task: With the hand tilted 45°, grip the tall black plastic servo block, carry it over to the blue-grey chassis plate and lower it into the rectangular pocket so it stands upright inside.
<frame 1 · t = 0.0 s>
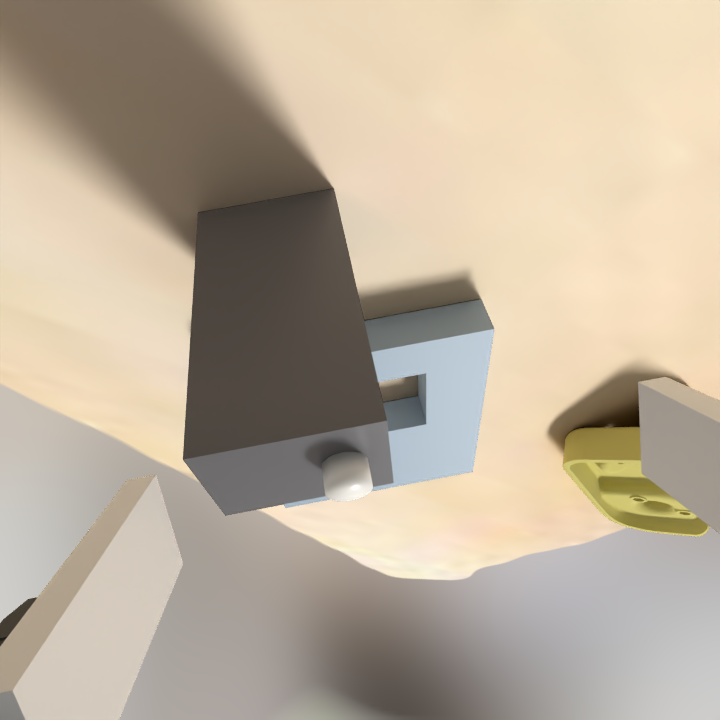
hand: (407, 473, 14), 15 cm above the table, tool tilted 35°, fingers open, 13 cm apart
chassis plate: (364, 406, 39), on the table
plastic component: (627, 444, 52), on the table
servo block: (276, 238, 26), on the table
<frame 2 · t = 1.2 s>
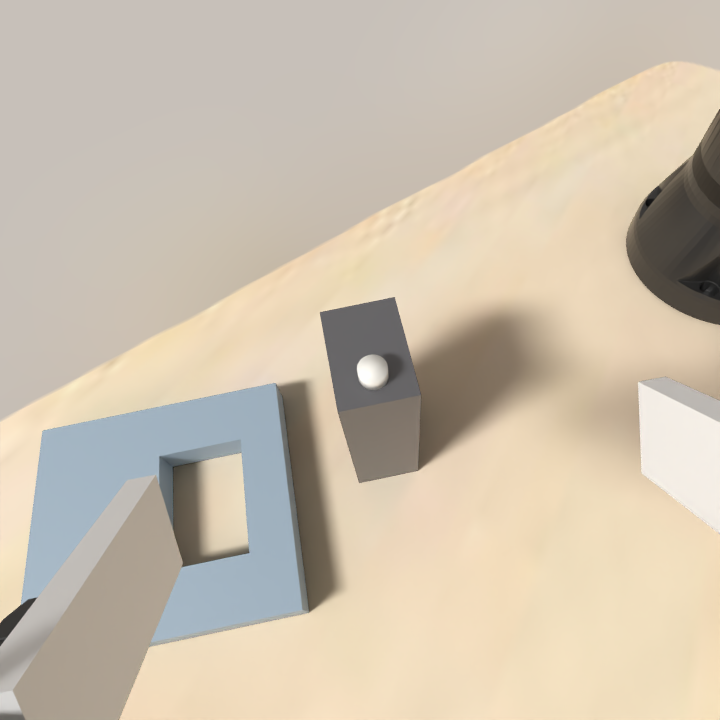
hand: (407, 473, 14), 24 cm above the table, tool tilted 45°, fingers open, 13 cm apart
chassis plate: (173, 519, 38), on the table
servo block: (379, 436, 40), on the table
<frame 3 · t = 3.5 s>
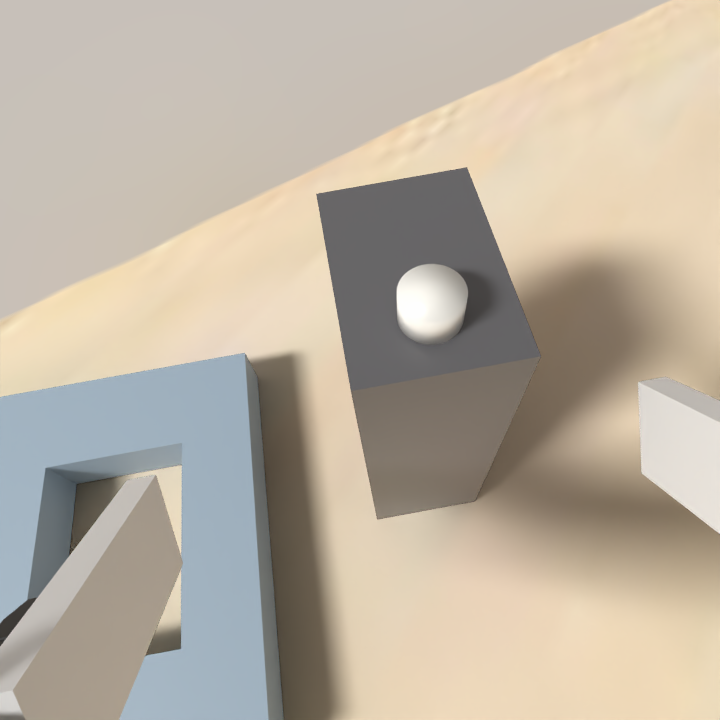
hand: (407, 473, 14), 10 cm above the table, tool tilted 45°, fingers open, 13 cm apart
chassis plate: (67, 572, 23), on the table
servo block: (410, 443, 25), on the table
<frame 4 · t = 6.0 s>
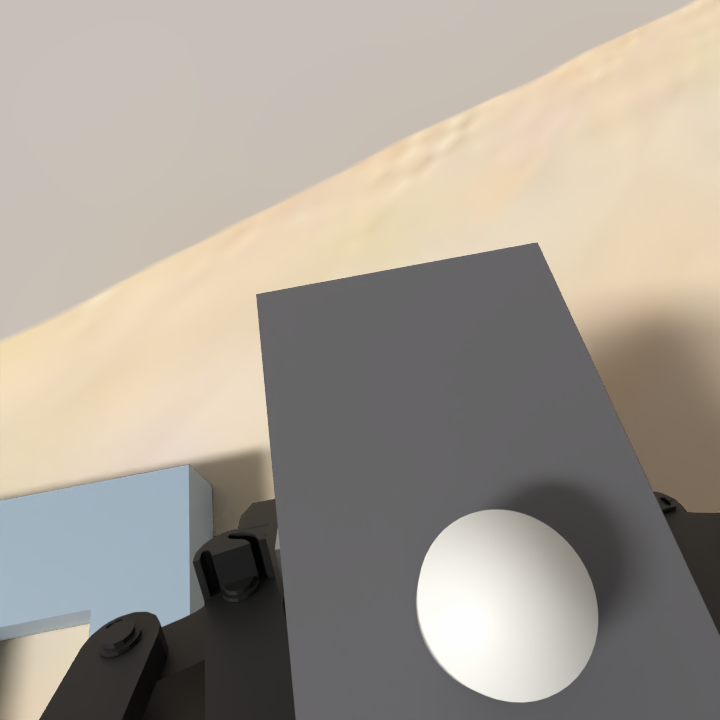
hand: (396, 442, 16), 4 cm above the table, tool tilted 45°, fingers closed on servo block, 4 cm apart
servo block: (421, 589, 18), on the table, touching gripper
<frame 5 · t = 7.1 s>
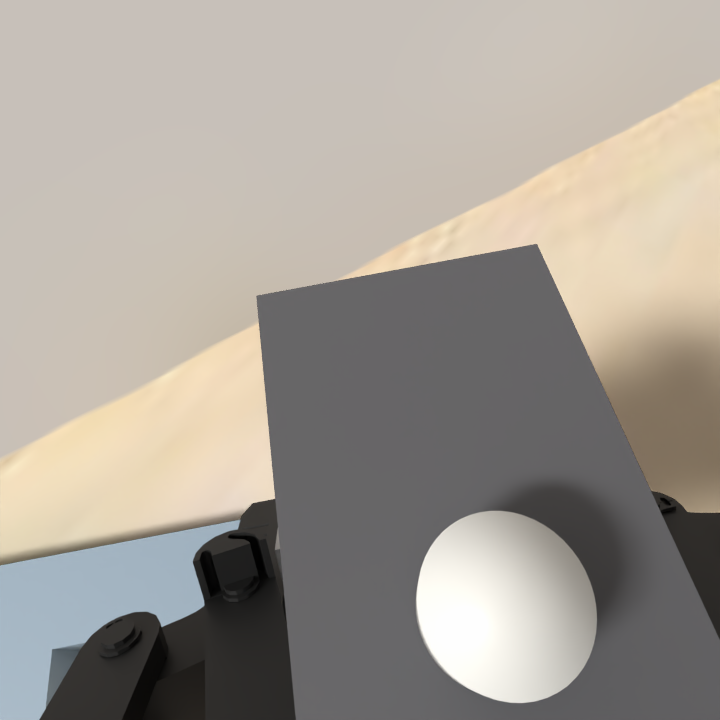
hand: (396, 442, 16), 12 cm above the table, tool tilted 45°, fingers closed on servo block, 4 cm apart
servo block: (421, 589, 18), point 8 cm above the table, touching gripper
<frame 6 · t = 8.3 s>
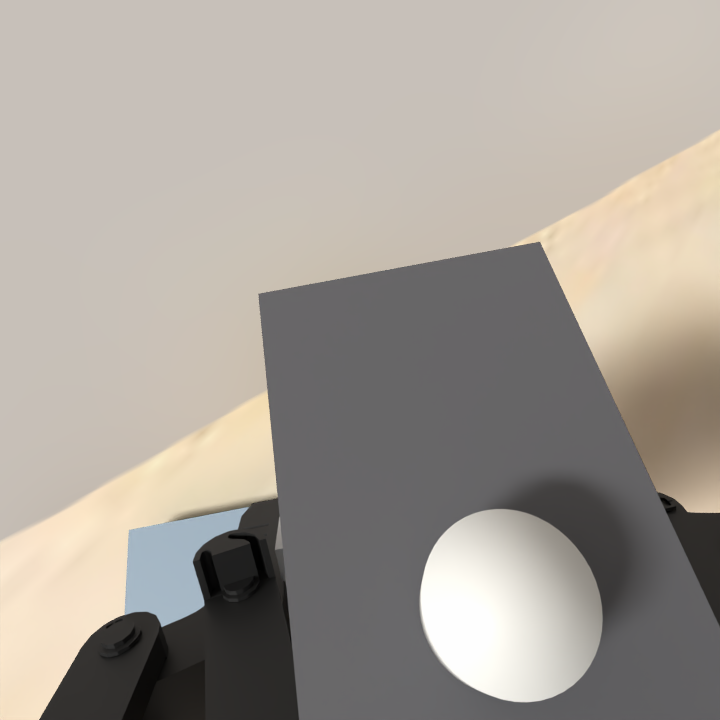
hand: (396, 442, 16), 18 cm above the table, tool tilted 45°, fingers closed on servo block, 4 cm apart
chassis plate: (298, 651, 30), on the table
servo block: (422, 589, 18), point 14 cm above the table, touching gripper
when the fingers open (5 cm above the table, at t = 10.8 s): servo block drops 1 cm, resting in chassis plate.
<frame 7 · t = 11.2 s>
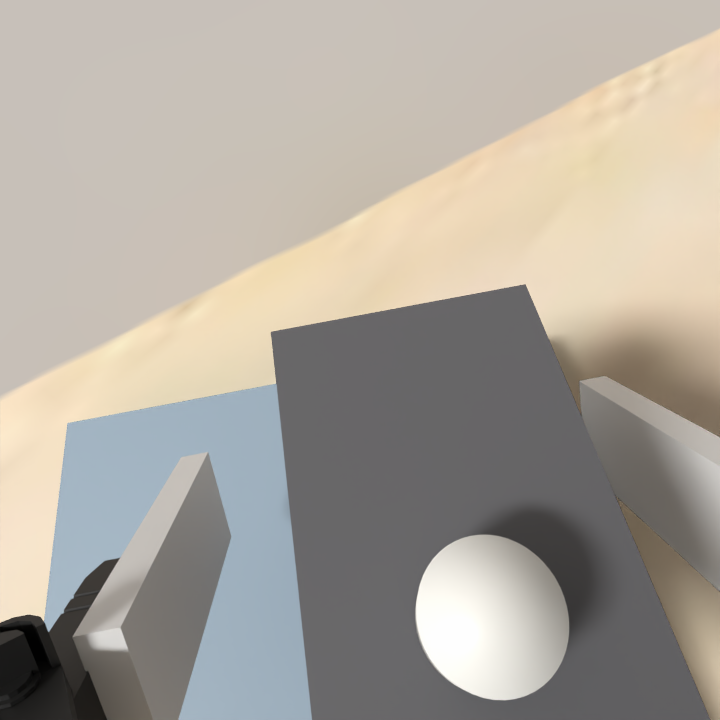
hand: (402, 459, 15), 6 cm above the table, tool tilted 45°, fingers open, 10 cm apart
chassis plate: (337, 609, 18), on the table
servo block: (421, 593, 19), resting in chassis plate
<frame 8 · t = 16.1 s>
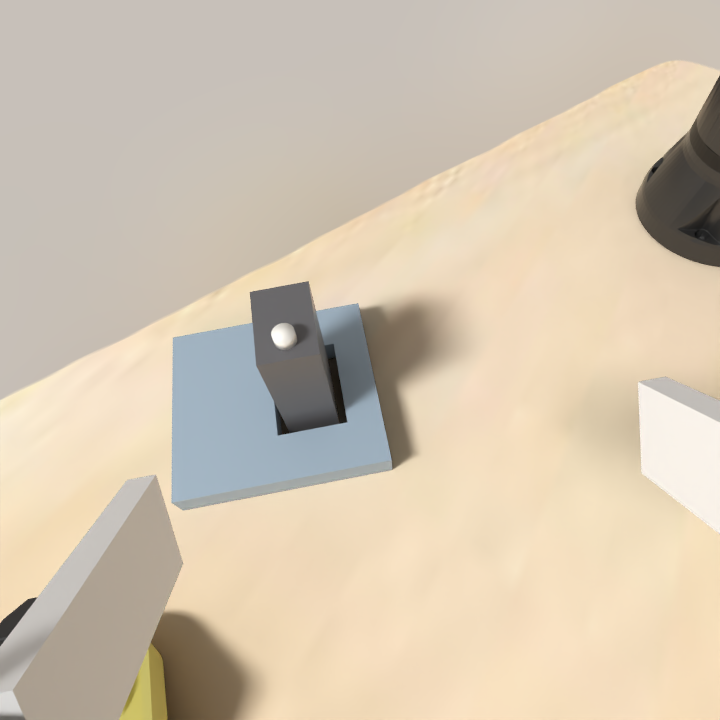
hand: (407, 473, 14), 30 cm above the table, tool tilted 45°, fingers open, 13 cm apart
chassis plate: (279, 405, 48), on the table
servo block: (311, 400, 49), resting in chassis plate
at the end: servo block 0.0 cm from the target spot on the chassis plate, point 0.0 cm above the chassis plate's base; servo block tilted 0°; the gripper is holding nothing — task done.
